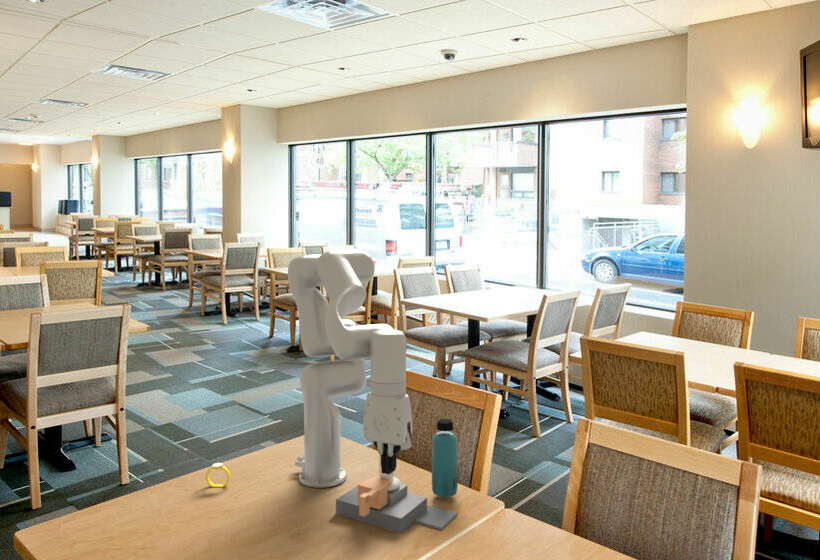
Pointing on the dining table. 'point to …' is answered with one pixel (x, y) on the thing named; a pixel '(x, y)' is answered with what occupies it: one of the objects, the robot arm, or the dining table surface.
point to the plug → (389, 478)
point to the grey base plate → (385, 509)
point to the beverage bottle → (444, 460)
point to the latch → (372, 494)
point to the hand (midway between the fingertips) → (388, 471)
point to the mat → (435, 517)
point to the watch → (218, 466)
